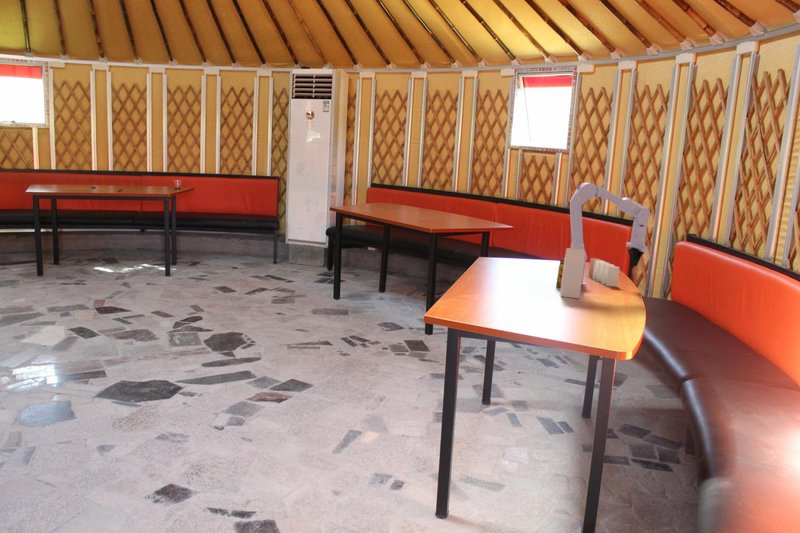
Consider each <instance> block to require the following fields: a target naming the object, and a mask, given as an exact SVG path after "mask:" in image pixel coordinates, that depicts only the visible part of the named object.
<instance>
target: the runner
mask: <svg viewBox="0 0 800 533" xmlns="http://www.w3.org/2000/svg"><path fill="white" fill-rule="evenodd" d="M586 278H589V279H591V280H592V281H594V282H597V283H599V284H600V285H602V286H604V287H607V288H620V286H618V285H617V286H606V284H602V283H601V282H602V281H597V279H593V277H589V276H588V275H586Z"/></svg>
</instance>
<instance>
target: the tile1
mask: <svg viewBox="0 0 800 533" xmlns="http://www.w3.org/2000/svg"><path fill="white" fill-rule="evenodd" d="M619 273H620V266H614V267H611V266H609V269H608V276H607V283H606V286H618V280H619V275H620V274H619ZM606 286H605V287H606Z"/></svg>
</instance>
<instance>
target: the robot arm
mask: <svg viewBox="0 0 800 533" xmlns="http://www.w3.org/2000/svg"><path fill="white" fill-rule="evenodd" d="M594 197H595V198H604V199H606V200H607V201H610V202H612V203H614V204H616V205H617V207H618V209H619V210H620V211H621V212H623V213H625V214H627V215H628V216H631V217H633V223H632V229H631V235H630V241H629V242H628V241H626V245H625V247H626V248H628V249H627V252H628V255H629V260H630V261H629V262H630V266H631V267H637V266H638V264H639V261H640V259H641V258H642V256H643V255H644V253H648V247H647V245H645V242H646V234H647V228H648V220H650V218H651V215H652V214H651V211H650V210H649V209H648V208H647V207H645V206H643V205H642V203H638V202H635V201H633V199H632V198H631V197H623V198H622V197H620V196H618V195H616V194H614V193H613V192H611V191H609V190H607V189H606V188H604V187H601V186H598V185H596V184H593V183H592V182H591V183H590V182H582V183H581V184H580V185H578V186H577V187H576V188H575V191H574V193H573V195H572V196H571V198H570V200H569V216H570V218H569V219H570V238H571V242H570V248H571V249H581V250H585V244H584V231H583V214H582V213H583V212H582V210H583V209H582V206H583V205H584V204H585V203H586V202H587V201H588V200H591V199H592V198H594ZM587 259H588V255H587V253H586V251H585V258H584V268H583V275H582V282H581V286H582V285H587V283H586V282H584V278H585V269H586V262H587Z"/></svg>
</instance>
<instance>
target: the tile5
mask: <svg viewBox="0 0 800 533" xmlns="http://www.w3.org/2000/svg"><path fill="white" fill-rule="evenodd" d="M595 260H598V261H602V260H601V258H590V259H589V265H588V266H589V268H588V274H587V276H589V277H593V271H594V263H595Z"/></svg>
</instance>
